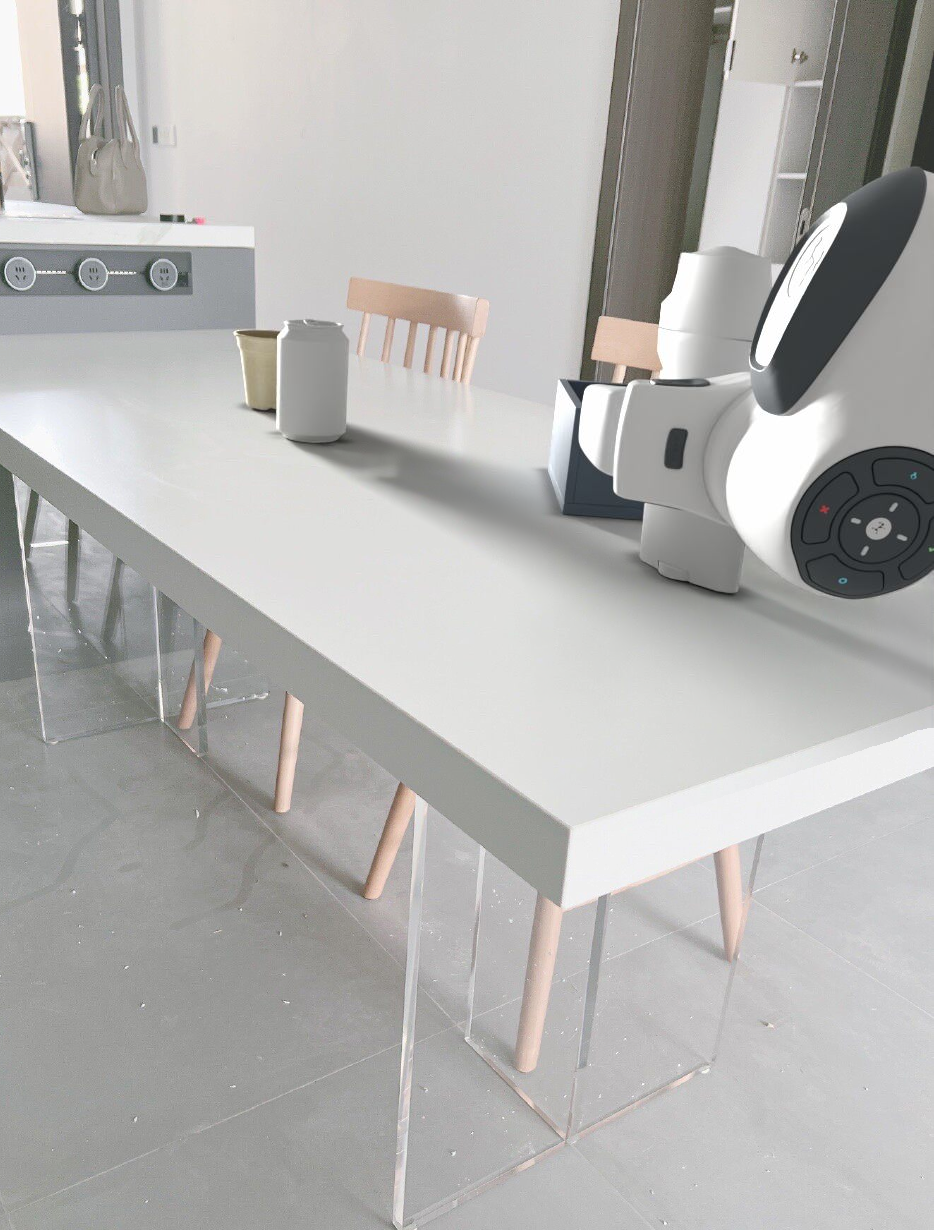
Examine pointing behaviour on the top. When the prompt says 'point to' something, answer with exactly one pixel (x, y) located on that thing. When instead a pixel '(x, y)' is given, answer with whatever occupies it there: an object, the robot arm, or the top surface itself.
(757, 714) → the top surface
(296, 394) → the can
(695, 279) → the tall pale column
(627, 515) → the bin
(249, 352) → the flower pot
